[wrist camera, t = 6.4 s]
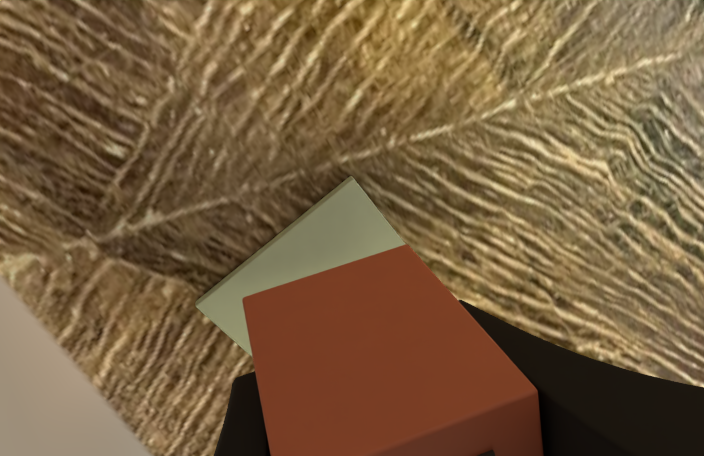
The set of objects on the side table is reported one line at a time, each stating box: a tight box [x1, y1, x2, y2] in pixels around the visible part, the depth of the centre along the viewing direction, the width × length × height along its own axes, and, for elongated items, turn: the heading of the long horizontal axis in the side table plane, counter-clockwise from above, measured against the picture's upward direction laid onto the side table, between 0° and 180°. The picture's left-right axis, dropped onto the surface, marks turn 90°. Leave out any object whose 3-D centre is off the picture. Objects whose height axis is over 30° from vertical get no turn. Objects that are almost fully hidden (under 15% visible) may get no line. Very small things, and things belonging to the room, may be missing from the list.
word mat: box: [196, 176, 405, 358], centre depth 25 cm, size 7×23×1 cm, turn 36°
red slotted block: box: [242, 244, 544, 456], centre depth 11 cm, size 4×4×6 cm
